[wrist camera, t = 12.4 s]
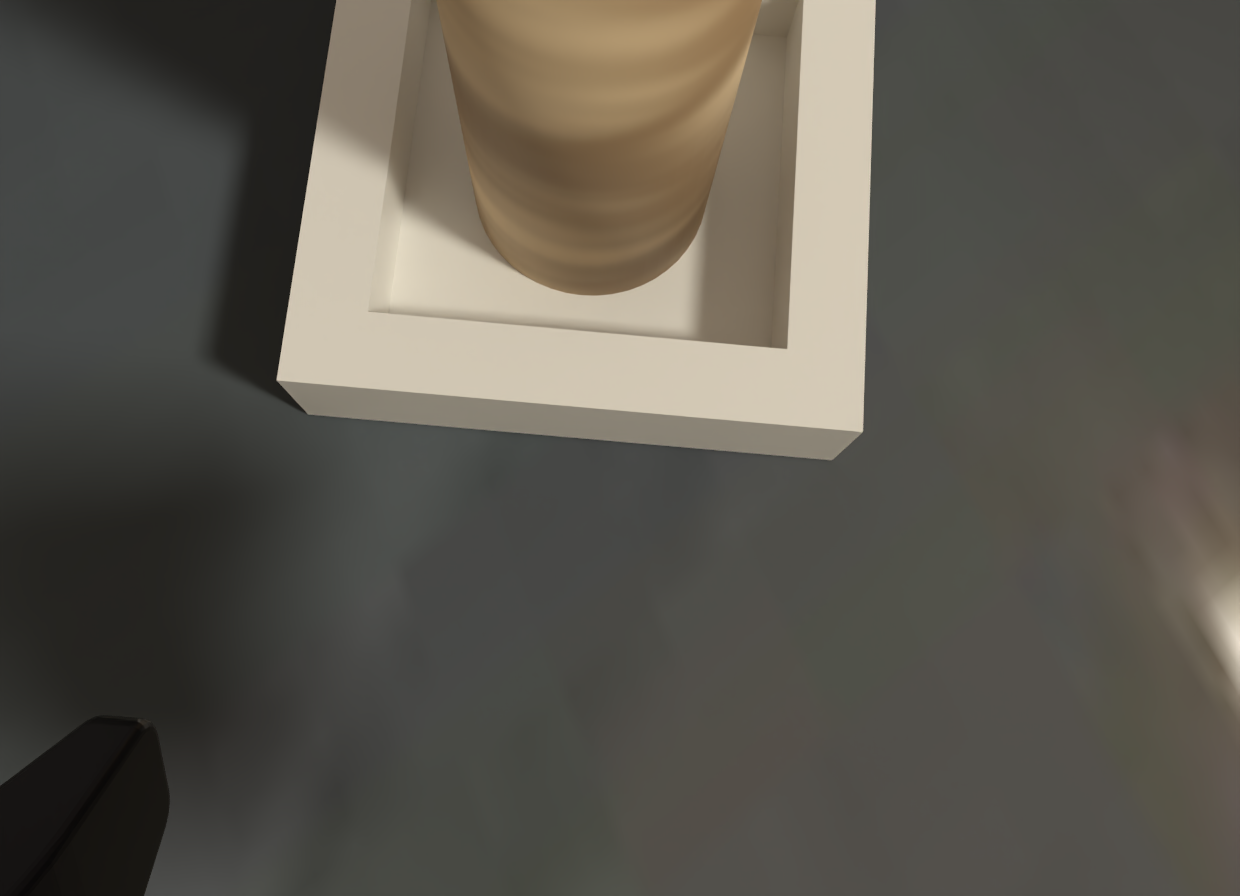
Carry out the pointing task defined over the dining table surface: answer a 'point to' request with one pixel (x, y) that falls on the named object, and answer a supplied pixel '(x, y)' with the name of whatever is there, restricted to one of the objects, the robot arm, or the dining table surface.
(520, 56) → the wooden tool handle
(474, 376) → the tool holder
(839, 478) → the dining table surface
